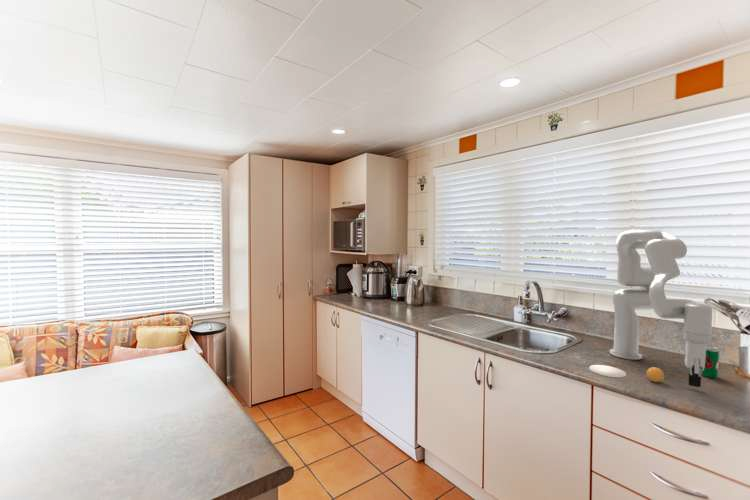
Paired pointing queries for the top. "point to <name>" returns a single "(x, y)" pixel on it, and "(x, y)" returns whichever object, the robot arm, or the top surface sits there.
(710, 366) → the soda can
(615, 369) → the disc
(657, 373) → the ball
